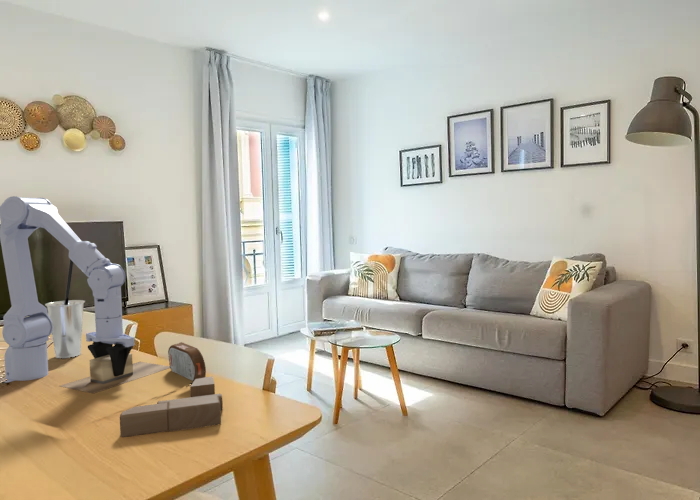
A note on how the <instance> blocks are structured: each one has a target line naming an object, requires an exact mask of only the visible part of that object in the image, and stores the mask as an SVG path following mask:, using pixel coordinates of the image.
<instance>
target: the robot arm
mask: <svg viewBox="0 0 700 500" xmlns="http://www.w3.org/2000/svg"><path fill="white" fill-rule="evenodd" d="M39 228H41V229H44V230H46V231H47V232H48V233H49V234H50V235H51V236H52V237H53V238H55V239H56V240H57V241H58V242H59V243H60V244H61V245H62V246H63V247H65V249H67V250H68V259H69V260H70V259H71V260H72V261H73V264H74V265H75V266H76V267H77V268H78V269H79V270H81V272H82V273H83V274H84V275H85V276H86V277H87V278H86V279H87V280H86V281H87V284H88V287H89V288H90V289H91V291H92V297H93V301H94V319H95V331H91V332H87V333H85V336H86V337H85V339H86V342H89V343H90V342H92V344H88V345H87V349H88V350H89V352H90V353H91V355H92V356H93V359H95V358H99V357H103V356H106V355H110V358H111V362H112V369H113V374H114V376H115V377H117V376H120V375H123V374H124V369H125V365H126V361H127V358H128V355H129V353H130V354H131V350H132V349H133V347H134V346H135V345H136V342H135V337H134V336H131V335H128V334H126V333H124V328H123V327H124V325H123V324H124V323H123V307H122V306H123V305H122V303H123V302H122V286H123V285H124V284H125V281H126V272H125V270H124V269H123V267H122V266H121V265H120V264H117V263H112V262H111V260H110V259H109V258H106V257H105V255H104V254H102V253H101V252H100V251H99V250H98V248H97V247H98V246H97V244H96V243H95V242H91V241H88V240H82V239H80V237H79V236H78V235H77V234H76V233H75V231H73V229H72V228H71V226H69V224H68V223H67V222H66V221H65V220H64V218H62V216H61V215H60V214H59V212H58V208H57V207H56V206H55V205H53V203H52V202H51V201H50V200H49V199H47V198H45V197H24V196H22V197H21V196H17V195H13V196H12V195H11V196H9V197H7V198H6V199H5V200H4V201H3V202H2V204H1V205H0V245H1V251H2V252H1V253H2V258H3V263H4V268H5V269H4V270H5V275H6V281H7V287H8V288H7V289H8V292H9V299H10V305H11V307H10V308H9V309H8V310H7V311H6V313H5V314H4V315H3V317H2V318H3V327H2V338H3V340H4V341H5V342H4V343H6V344H7V345H8V347H7V348H6V350H5V352H4V369H5V370H4V371H5V379H8V380H7V381H5V382H4V383H11V382H14V381H19V382H20V381H21V382H22V381H31V380H38V379H42V378H44V377H47V376H48V375H49V360H48V358H49V357H48V341H49V337H50V335H51V336H52V331H53V322H52V320H51V318H50V317H49V315H48V309H47V306H45V305H43V304H42V303H40V302H39V299H38V293H37V286H36V281H35V275H34V267H33V263H32V257H31V251H30V245H29V240H28V239H29V237H30V236H31V235H32V234H33V233H34V232H35V231H36V230H38V229H39Z"/></svg>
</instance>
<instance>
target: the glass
mask: <svg viewBox="0 0 700 500" xmlns="http://www.w3.org/2000/svg"><path fill="white" fill-rule="evenodd" d="M68 265H69V266H68V274H67V282H66V289H65V299H64V300H59V301H53V302H52V301H51V302H47V303H44V306H45V307H46V308H47V312H48V315H49V317H50V318H51V320H52V322H53V331H52V333H51V336H52V341H53V349H54V355H55V359H61V358H62V359H71V358H70V357H72V358H76V357H79V356H81V355H82V353H81V351H82V333H83V320H84V319H83V318H84V303H86V300H83V299H72V300H70V292H71V291H70V290H71V284H72V278H73V277H72V275H73V270H74V269H73V268H74V262H73V261H72V260H71V259H70V258H69V264H68ZM78 355H79V356H78ZM75 356H76V357H75Z"/></svg>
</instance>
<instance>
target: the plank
mask: <svg viewBox="0 0 700 500" xmlns="http://www.w3.org/2000/svg"><path fill="white" fill-rule="evenodd" d="M168 369H170V365H163V364H158V363H157V364H156V363H151V362H143V361H138V362H134V363H133V375H130V376H127V377H123V378H120V379H117V380H114V381H111V382H108V383H105V384H101V383H96V382H91V380H90V376H88V377H84V378H81V379H78V380H75V381H71V382H67V383H64V384H61V385H59V387H61V388H62V387H63V388H67V389H72V390H76V391H80V392H85V393H89V394H96V393H99V392H102V391H105V390H108V389H112V388H115V387H117V386H120V385H124V384H126V383H129V382H133V381H135V380H138V379H141V378H144V377H147V376H150V375H153V374H156V373H159V372H162V371H165V370H168Z"/></svg>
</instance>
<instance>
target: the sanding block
mask: <svg viewBox="0 0 700 500" xmlns="http://www.w3.org/2000/svg"><path fill="white" fill-rule="evenodd" d="M133 364H134V363H133V353H131V352H130V353H129V355H128V358H127V361H126V365H125V369H124V374H123V375H120V376H117V377H115V376H114V374H113V369H112V362H111V358H110V355H106V356H103V357H99V358H95V359H94V358H92V359H89V377H90V380H91V382H96V383H101V384H105V383H108V382H111V381H114V380H117V379H120V378H123V377H127V376H130V375H133Z"/></svg>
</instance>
